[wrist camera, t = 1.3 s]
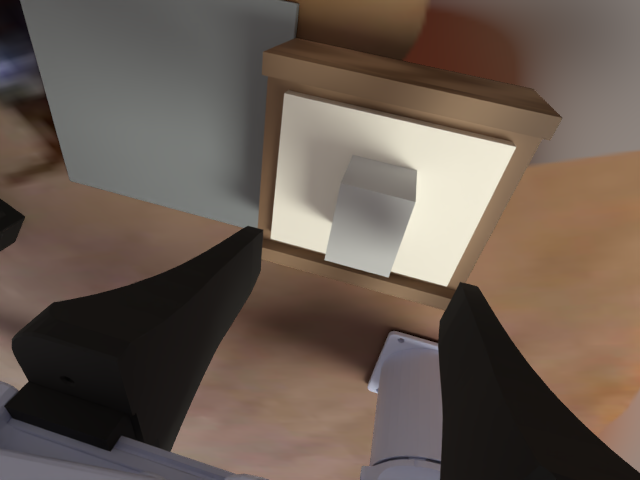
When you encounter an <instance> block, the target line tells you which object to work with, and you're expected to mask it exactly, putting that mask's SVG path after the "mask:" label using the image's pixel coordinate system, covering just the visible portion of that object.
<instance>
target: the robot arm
mask: <svg viewBox="0 0 640 480" xmlns="http://www.w3.org/2000/svg"><path fill="white" fill-rule="evenodd" d="M262 244H263V229H259V228H255V227H251V226H246V227H245V228H243V229H241V230H240V231H238V232H237V233H235V234H233V235H232V236H230V237H229V238H227V239H226V240H224V241H222V242H221V243H219V244H218V245H216V246H214V247H213V248H211V249H209V250H208V251H206V252H204V253H202V254H201V255H199V256H197V257H195V258H193V259H191V260H189V261H187V262H186V263H184V264H182V265H180V266H177V267H175V268H173V269H171V270H168V271H166V272H164V273H161V274H159V275H156V276H154V277H151V278H148V279H145V280H142V281H139V282H136V283H134V284H131V285H128V286H124V287H121V288H117V289H114V290H110V291H106V292H103V293H99V294H94V295H90V296H85V297H80V298H75V299H70V300H65V301H60V302H54V303H52V304H51V305H50V306H48V307H47V308H46V309H45V310H44V311H42V312H41V313H40V314H39V315H38V316H37V317H35V318H34V319H33V320H32V321H31V322H30V323H28V324H27V325H26V326H25V327H24V328H23V329H21V330H20V331H19V332H18V333H17V334H16V335H15V336H14V337H13V338H12V350H13V353H14V355H15V357H16V359H17V361H18V363H19V365H20V366H21V368H22V370H23V372H24V374H25V375H26V377H27V379H28V381H29V382H28V383H27V384H26V385H25V386H24V387H23V388H22V389H21V390H20V391H18V390H17V389H16V388H15V387H13V386H12V385H9V384H7V383H5V382H2V381H0V480H268V479H265V478H262V477H257V476H253V475H248V474H234V473H231V472H228V471H225V470H223V469H220V468H217V467H214V466H211V465H208V464H205V463H202V462H199V461H196V460H193V459H190V458H187V457H184V456H181V455H178V454H175V453H172V452H170V451H171V449H172V447H173V444H174V442H175V439H176V437H177V435H178V432H179V430H180V427H181V425H182V423H183V420H184V418H185V416H186V414H187V411H188V409H189V407H190V405H191V402H192V400H193V398H194V396H195V393H196V391H197V389H198V387H199V385H200V383H201V380H202V378H203V376H204V374H205V372H206V370H207V368H208V366H209V364H210V362H211V360H212V357H213V355H214V353H215V351H216V349H217V348H218V346H219V344H220V342H221V341H222V339H223V337H224V336H225V334H226V332H227V331H228V329H229V328H230V326H231V324H232V323H233V321H234V320H235V318H236V316H237V315H238V313H239V312H240V310H241V308H242V307H243V305H244V304H245V302H246V300H247V299H248V297H249V295H250V294H251V291H252V289H253V287H254V285H255V283H256V280H257V278H258V276H259V274H260V271H261V257H262ZM399 338H402V339H399ZM368 389H369V390H370V391H372V392H375V393H378V398H377V406H376V415H375V423H374V432H373V440H372V449H371V458H370V466H362V468H361V475H360V480H640V473H639V472H638V471H637V470H635V469H634V468H633V467H632V466H630V465H629V464H628V463H627V462H625V461H624V460H623V459H622V458H621V457H619V456H618V455H617V454H616V453H615V452H614V451H612V450H611V449H610V448H609V447H608V446H607V445H606V444H605V443H603V442H602V441H601V440H600V439H599V438H598V437H597V436H596V435H595V434H594V433H592V432H591V431H590V430H589V429H588V428H587V427H586V426H585V425H584V424H583V423H582V422H581V421H580V420H579V419H578V418H577V417H576V416H575V415H574V414H573V413H572V412H571V411H570V410H569V409H568V408H567V407H566V406H565V405H564V404H563V403H562V402H561V401H560V400H559V399H558V398H557V397H556V395H555V394H554V393H553V392H552V391H551V390H550V389H549V388H548V386H547V385H546V384H545V383H544V382H543V381H542V379H541V378H540V377H539V376H538V375H537V373H536V372H535V371H534V370H533V369H532V367H531V366H530V365H529V364H528V362H527V361H526V360H525V358H524V357H523V355H522V354H521V353H520V351H519V350H518V349H517V347H516V346H515V345H514V343H513V342H512V340H511V339H510V337H509V336H508V334H507V333H506V331H505V330H504V328H503V327H502V325H501V324H500V322H499V320H498V319H497V317H496V316H495V314H494V312H493V311H492V309H491V307H490V306H489V304H488V302H487V301H486V299H485V297H484V296H483V294H482V292H481V291H480V289H479V288H478V287H477V286H474V285H470V284H466V283H462V282H460V283H459V285H458V287H457V289H456V291H455V293H454V295H453V297H452V299H451V301H450V303H449V304H448V306H447V308H446V310H445V312H444V314H443V316H442V318H441V320H440V326H439V341H438V343H436V342H432V341H429V340H425V339H422V338H418V337H415V336H411V335H408V334H404V333H401V332H397V331H391V332H390V333H389V334H388V337H387V339H386V341H385V344H384V346H383V349H382V351H381V354H380V356H379V358H378V361H377V363H376V366H375V368H374V371H373V373H372V376H371V378H370V380H369V383H368Z"/></svg>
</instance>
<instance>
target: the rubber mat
mask: <svg viewBox="0 0 640 480" xmlns="http://www.w3.org/2000/svg"><path fill="white" fill-rule="evenodd" d="M20 2H21V5H22V9H23V13H24V16H25V20H26V24H27V27H28V31H29V34H30V38H31V42H32V45H33V49H34V52H35V56H36V60H37V63H38V67H39V71H40V74H41V78H42V81H43V85H44V89H45V92H46V96H47V99H48V103H49V107H50V110H51V114H52V118H53V121H54V125H55V128H56V132H57V136H58V139H59V143H60V146H61V150H62V154H63V157H64V161H65V165H66V168H67V172H68V175H69V179H70V181H72V182H76V183H80V184H84V185H87V186H91V187H95V188H98V189H102V190H106V191H109V192H113V193H117V194H120V195H124V196H128V197H132V198H135V199H139V200H143V201H146V202H150V203H154V204H157V205H161V206H165V207H168V208H172V209H176V210H180V211H183V212H187V213H191V214H194V215H198V216H202V217H205V218H209V219H213V220H217V221H220V222H224V223H228V224H231V225H235V226H239V227H242V228H245V227H246V226H251V227H255V228H258V215H259V200H260V186H261V171H262V156H263V141H264V126H265V111H266V96H267V81H268V76H265V75H262V62H263V51H266V50H268V49H271V48H273V47H275V46H278V45H280V44H282V43H285V42H287V41H289V40H292V39H294V38H296V32H297V22H298V12H299V3H294V2H289V1H284V0H20Z"/></svg>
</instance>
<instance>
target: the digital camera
mask: <svg viewBox="0 0 640 480" xmlns="http://www.w3.org/2000/svg"><path fill="white" fill-rule="evenodd" d="M24 218H25V216H23V215H22V214H21V213H19V212H18V211H16V210H15V209H14V208H12V207H11V206H10V205H8V204H7V203H5V202H4V201H3V200H1V199H0V251H1V250H3V249H5V248H6V247H8V246H9V245H11V244H12V243H14V242H15V241H16V238H17V236H18V233H19V231H20V228H21V226H22V223H23V221H24ZM21 220H22V221H21ZM19 221H20V222H19ZM16 223H17V224H16ZM14 224H15V225H14ZM11 226H12V227H11ZM6 229H7V230H6Z"/></svg>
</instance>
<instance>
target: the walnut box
mask: <svg viewBox="0 0 640 480" xmlns="http://www.w3.org/2000/svg"><path fill="white" fill-rule="evenodd" d="M262 75H265V76H268V81H267V96H266V111H265V126H264V141H263V156H262V171H261V186H260V200H259V215H258V228H259V229H263V244H262V257H261V259H262V260H265V261H269V262H272V263H276V264H280V265H283V266H287V267H290V268H294V269H298V270H301V271H305V272H308V273H312V274H316V275H319V276H323V277H326V278H330V279H334V280H337V281H341V282H344V283H348V284H352V285H355V286H359V287H362V288H366V289H370V290H373V291H377V292H380V293H384V294H388V295H391V296H395V297H398V298H402V299H406V300H409V301H413V302H416V303H420V304H424V305H427V306H431V307H434V308H438V309H442V310H446V308H447V306H448V304H449V303H450V301H451V299H452V297H453V295H454V293H455V291H456V289H457V287H458V285H459V283H460V282H462V283H466V281H467V279H468V277H469V275H470V273H471V271H472V270H473V268H474V266H475V264H476V262H477V260H478V258H479V256H480V255H481V253H482V251H483V249H484V247H485V245H486V243H487V241H488V240H489V238H490V236H491V234H492V232H493V230H494V228H495V226H496V225H497V223H498V221H499V219H500V217H501V215H502V213H503V211H504V210H505V208H506V206H507V204H508V202H509V200H510V198H511V196H512V195H513V193H514V191H515V189H516V187H517V185H518V183H519V181H520V180H521V178H522V176H523V174H524V172H525V170H526V168H527V166H528V165H529V163H530V161H531V159H532V157H533V155H534V153H535V151H536V150H537V148H538V146H539V144H540V142H541V140H542V139H546V140H550V139H551V138H552V136H553V134H554V133H555V131H556V128H557V127H558V125H559V123H560V122H561V120H562V117H561V116H560V115H559V114H558V113H557V112H556V111H555V110H554V109H553V108H552V107H551V106H550V105H549V104H548V103H547V102H546V101H545V100H544V99H543V98H542V97H540V95H539V94H538V93H537V92H536V91H535V90H534V89H531V88H526V87H521V86H517V85H512V84H508V83H503V82H498V81H494V80H489V79H484V78H480V77H475V76H471V75H466V74H461V73H457V72H452V71H447V70H442V69H438V68H433V67H428V66H424V65H420V64H415V63H410V62H406V61H401V60H397V59H392V58H387V57H383V56H378V55H373V54H369V53H364V52H360V51H355V50H350V49H346V48H341V47H336V46H332V45H327V44H322V43H318V42H313V41H309V40H304V39H299V38H294V39H292V40H289V41H287V42H285V43H282V44H280V45H278V46H275V47H273V48H271V49H268V50H266V51H263V62H262ZM288 90H290V91H294V92H299V93H303V94H307V95H312V96H316V97H320V98H325V99H329V100H333V101H338V102H342V103H346V104H351V105H355V106H359V107H364V108H368V109H372V110H377V111H381V112H385V113H390V114H394V115H398V116H403V117H407V118H411V119H416V120H420V121H424V122H429V123H433V124H437V125H442V126H446V127H450V128H455V129H459V130H463V131H468V132H472V133H477V134H481V135H485V136H490V137H494V138H498V139H503V140H507V141H511V142H514V144H515V146H516V149H515V151H514V153H513V155H512V157H511V159H510V161H509V163H508V165H507V167H506V169H505V171H504V173H503V175H502V177H501V179H500V181H499V183H498V185H497V187H496V189H495V191H494V193H493V195H492V197H491V199H490V201H489V203H488V205H487V207H486V209H485V211H484V213H483V215H482V217H481V219H480V221H479V223H478V225H477V227H476V229H475V231H474V233H473V235H472V237H471V239H470V241H469V243H468V245H467V247H466V249H465V251H464V253H463V255H462V257H461V259H460V261H459V263H458V265H457V267H456V269H455V271H454V273H453V275H452V277H451V279H450V282H449V284H448V286H447V287H446V286H442V285H439V284H435V283H431V282H428V281H424V280H420V279H417V278H413V277H409V276H406V275H402V274H398V273H394V272H390V275H389V278H388V277H384V276H381V275H377V274H373V273H370V272H366V271H363V270H359V269H355V268H352V267H348V266H344V265H341V264H337V263H333V262H330V261H326V260H324V259H325V255H326V254H325V253H321V252H317V251H313V250H310V249H306V248H302V247H299V246H295V245H291V244H288V243H284V242H280V241H277V240H273V239H271V229H272V218H273V207H274V197H275V186H276V176H277V165H278V154H279V144H280V133H281V123H282V112H283V101H284V93H285V92H287V91H288Z"/></svg>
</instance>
